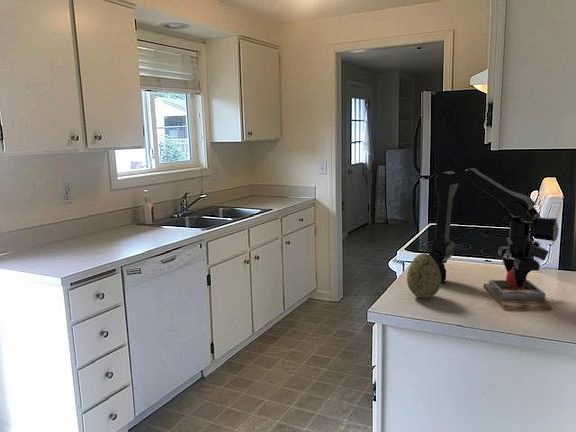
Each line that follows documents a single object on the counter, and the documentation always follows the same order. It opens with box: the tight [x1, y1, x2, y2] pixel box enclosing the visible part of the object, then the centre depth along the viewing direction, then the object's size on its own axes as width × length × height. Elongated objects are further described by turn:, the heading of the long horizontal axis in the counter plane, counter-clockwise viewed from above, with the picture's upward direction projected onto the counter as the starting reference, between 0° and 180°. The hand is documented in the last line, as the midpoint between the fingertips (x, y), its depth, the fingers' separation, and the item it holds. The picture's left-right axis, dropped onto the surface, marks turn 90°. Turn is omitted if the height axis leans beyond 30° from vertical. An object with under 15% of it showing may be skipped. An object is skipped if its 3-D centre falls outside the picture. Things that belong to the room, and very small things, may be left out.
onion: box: [505, 269, 527, 290], centre depth 150 cm, size 6×6×8 cm
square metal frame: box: [488, 279, 546, 301], centre depth 151 cm, size 13×13×2 cm
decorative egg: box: [406, 252, 442, 299], centre depth 153 cm, size 11×11×15 cm
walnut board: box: [482, 283, 553, 311], centre depth 151 cm, size 14×20×2 cm
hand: (515, 283), depth 150 cm, fingers closed on onion, 6 cm apart
